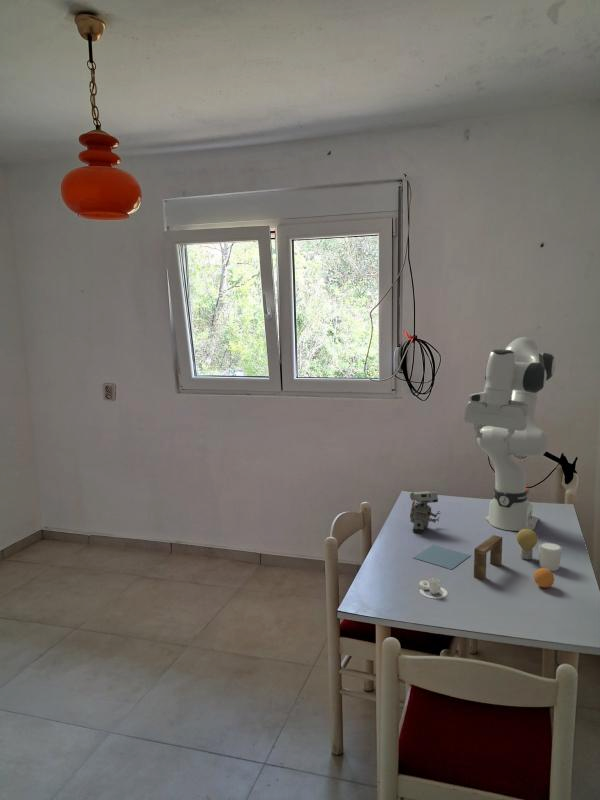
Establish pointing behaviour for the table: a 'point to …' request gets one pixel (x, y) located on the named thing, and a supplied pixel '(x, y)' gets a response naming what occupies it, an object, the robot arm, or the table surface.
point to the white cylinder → (549, 555)
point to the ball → (544, 577)
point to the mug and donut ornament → (432, 588)
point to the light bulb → (526, 542)
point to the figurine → (422, 509)
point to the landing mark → (442, 557)
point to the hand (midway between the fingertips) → (492, 440)
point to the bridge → (481, 551)
